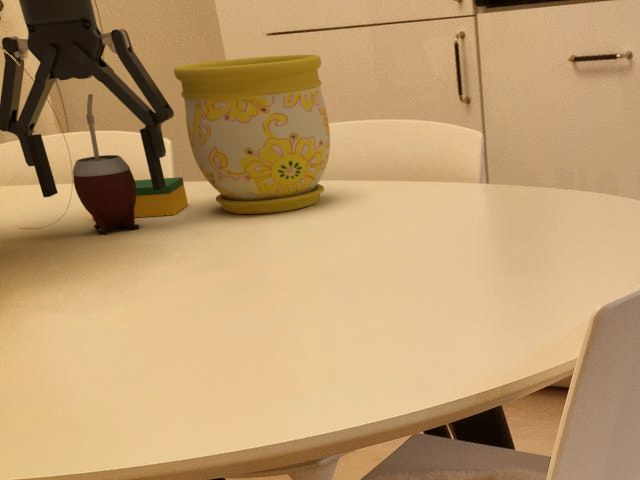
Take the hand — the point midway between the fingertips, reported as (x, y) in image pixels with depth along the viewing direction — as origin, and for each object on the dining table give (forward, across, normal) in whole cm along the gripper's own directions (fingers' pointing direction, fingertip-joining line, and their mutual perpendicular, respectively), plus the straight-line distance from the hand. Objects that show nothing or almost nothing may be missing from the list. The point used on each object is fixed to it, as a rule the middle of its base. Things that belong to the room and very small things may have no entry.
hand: (105, 192), depth 116 cm
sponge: (+4, 0, -11) cm, 12 cm away
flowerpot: (+4, -18, -10) cm, 21 cm away
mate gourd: (+4, 0, 0) cm, 5 cm away
